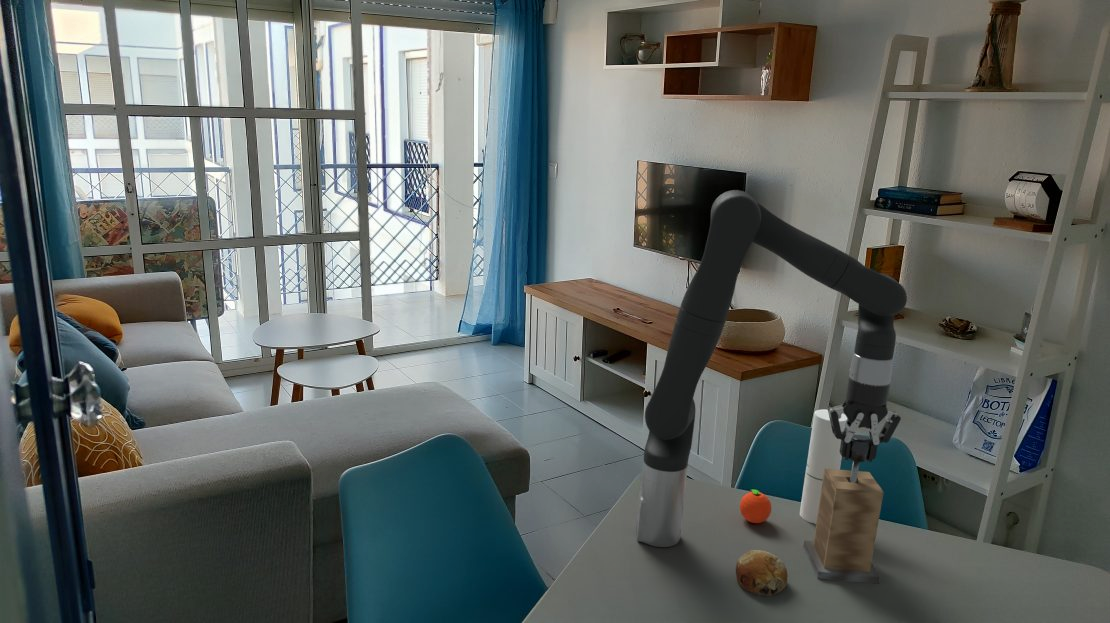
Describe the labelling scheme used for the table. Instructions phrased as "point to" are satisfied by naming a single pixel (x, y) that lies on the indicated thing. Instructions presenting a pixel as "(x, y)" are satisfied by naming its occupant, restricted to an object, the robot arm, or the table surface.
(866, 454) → the plunger
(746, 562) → the bread roll
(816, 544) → the box
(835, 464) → the cylindrical container
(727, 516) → the table surface
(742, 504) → the clementine
